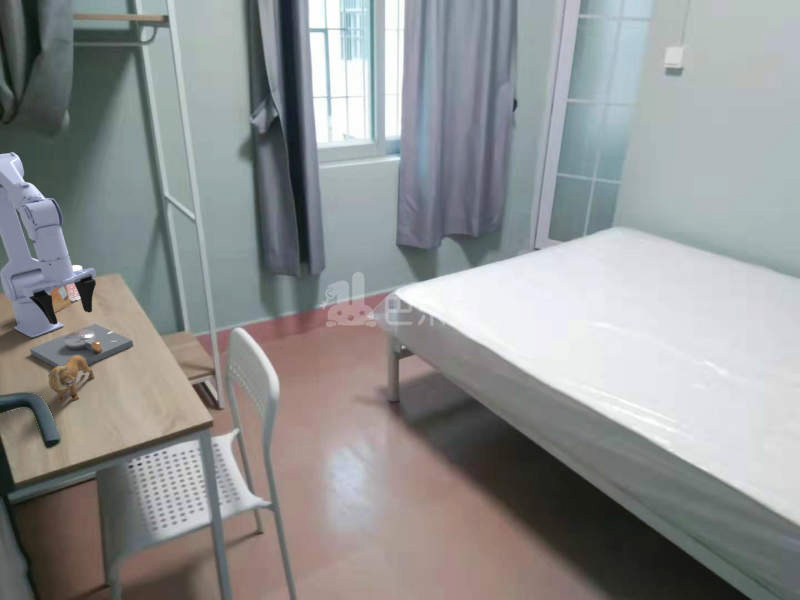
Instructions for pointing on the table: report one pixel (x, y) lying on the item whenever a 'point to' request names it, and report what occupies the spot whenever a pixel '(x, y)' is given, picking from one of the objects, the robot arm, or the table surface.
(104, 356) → the dial board
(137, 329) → the table surface
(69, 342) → the dial
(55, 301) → the small box
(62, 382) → the lion figurine
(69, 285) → the beverage cup
